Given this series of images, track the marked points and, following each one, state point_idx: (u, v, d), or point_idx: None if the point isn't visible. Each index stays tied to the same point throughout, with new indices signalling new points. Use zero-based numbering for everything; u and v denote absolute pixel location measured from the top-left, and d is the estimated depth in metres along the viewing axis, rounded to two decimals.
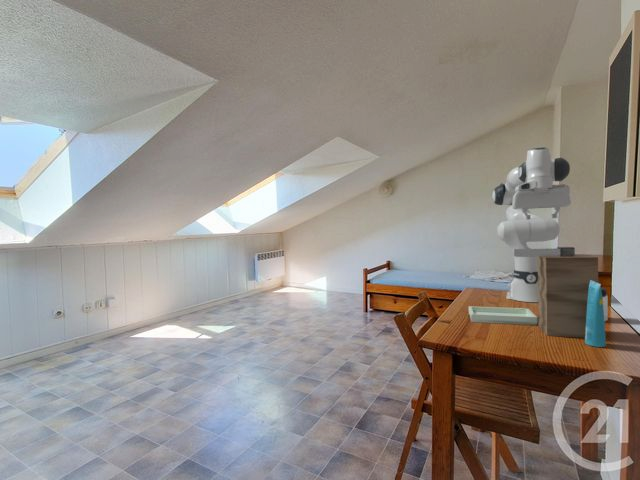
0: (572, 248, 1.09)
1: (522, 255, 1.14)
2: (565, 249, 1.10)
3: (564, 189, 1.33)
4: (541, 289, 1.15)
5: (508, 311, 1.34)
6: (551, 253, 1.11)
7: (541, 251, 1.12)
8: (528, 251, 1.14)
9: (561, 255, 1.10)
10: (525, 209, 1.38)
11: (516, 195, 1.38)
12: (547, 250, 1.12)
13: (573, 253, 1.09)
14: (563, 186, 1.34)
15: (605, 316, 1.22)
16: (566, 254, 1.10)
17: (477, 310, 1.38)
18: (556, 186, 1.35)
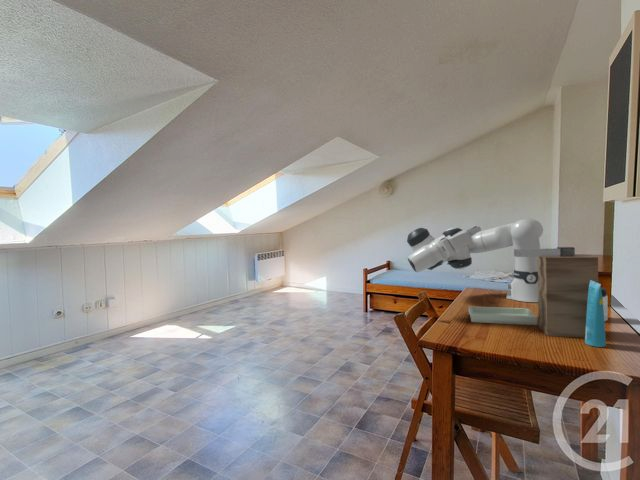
0: (572, 248, 1.09)
1: (522, 255, 1.14)
2: (565, 249, 1.10)
3: None
4: (541, 289, 1.15)
5: (508, 311, 1.34)
6: (551, 253, 1.11)
7: (541, 251, 1.12)
8: (528, 251, 1.14)
9: (561, 255, 1.10)
10: (468, 231, 1.24)
11: (452, 237, 1.23)
12: (547, 250, 1.12)
13: (573, 253, 1.09)
14: None
15: (605, 316, 1.22)
16: (566, 254, 1.10)
17: (477, 310, 1.38)
18: None
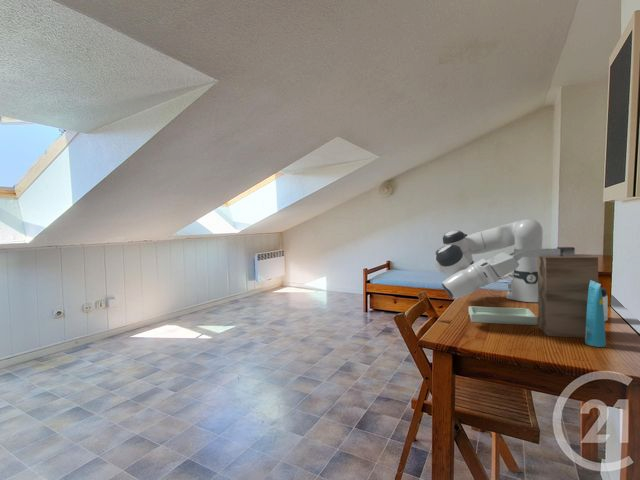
0: (572, 248, 1.09)
1: None
2: (565, 249, 1.10)
3: None
4: (541, 289, 1.15)
5: (508, 311, 1.34)
6: (551, 253, 1.11)
7: (541, 251, 1.12)
8: (528, 251, 1.14)
9: (561, 255, 1.10)
10: (512, 255, 1.14)
11: (496, 263, 1.10)
12: (547, 250, 1.12)
13: (573, 253, 1.09)
14: None
15: (605, 316, 1.22)
16: (566, 254, 1.10)
17: (477, 310, 1.38)
18: None
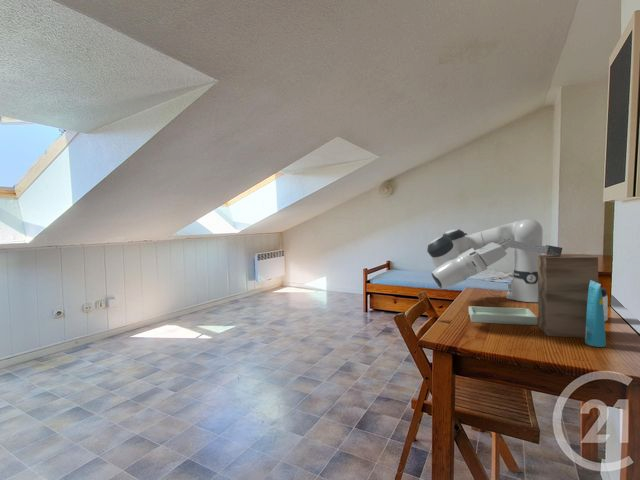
0: (560, 248, 1.10)
1: (510, 246, 1.15)
2: (552, 248, 1.11)
3: None
4: (541, 289, 1.15)
5: (508, 311, 1.34)
6: (538, 249, 1.12)
7: (529, 245, 1.13)
8: (517, 243, 1.14)
9: (547, 253, 1.11)
10: (500, 244, 1.14)
11: (484, 251, 1.11)
12: (535, 245, 1.12)
13: (559, 253, 1.10)
14: None
15: (605, 316, 1.22)
16: (552, 253, 1.11)
17: (477, 310, 1.38)
18: None
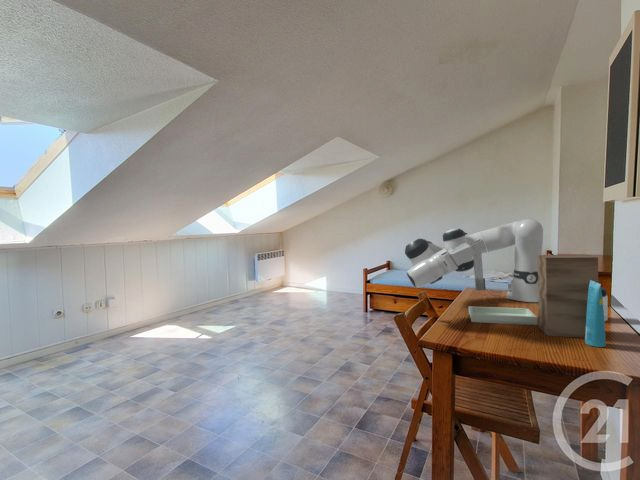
0: (484, 288, 1.19)
1: None
2: (482, 282, 1.19)
3: None
4: (541, 289, 1.15)
5: (508, 311, 1.34)
6: (478, 272, 1.20)
7: (480, 264, 1.19)
8: (479, 253, 1.19)
9: (476, 280, 1.20)
10: (471, 245, 1.18)
11: (455, 252, 1.15)
12: (481, 269, 1.19)
13: (479, 289, 1.20)
14: None
15: (605, 316, 1.22)
16: (478, 284, 1.20)
17: (477, 310, 1.38)
18: None
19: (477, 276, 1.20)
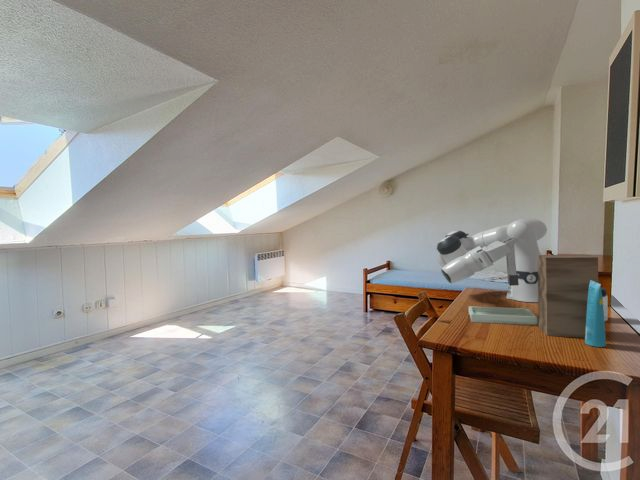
0: (517, 283, 1.26)
1: None
2: (515, 278, 1.27)
3: None
4: (541, 289, 1.15)
5: (508, 311, 1.34)
6: (511, 268, 1.27)
7: (513, 261, 1.27)
8: (512, 251, 1.26)
9: (510, 276, 1.27)
10: None
11: (490, 249, 1.22)
12: (514, 265, 1.26)
13: (512, 284, 1.27)
14: None
15: (605, 316, 1.22)
16: (511, 279, 1.27)
17: (477, 310, 1.38)
18: None
19: (510, 272, 1.27)
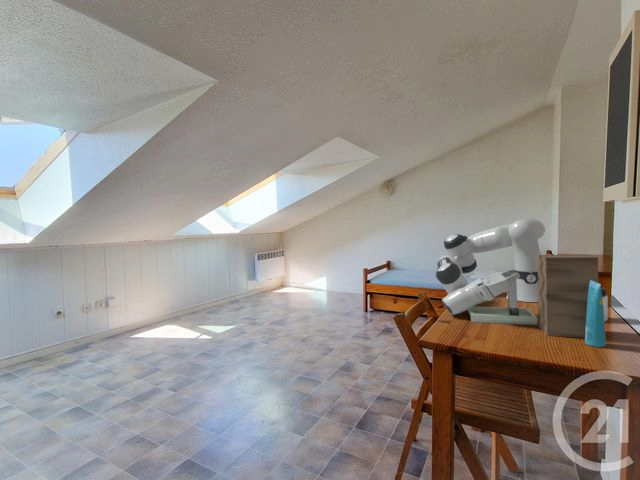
0: None
1: None
2: (516, 311, 1.27)
3: (483, 279, 1.39)
4: (541, 289, 1.15)
5: None
6: (512, 301, 1.27)
7: (514, 294, 1.27)
8: (514, 284, 1.27)
9: (511, 308, 1.28)
10: (507, 277, 1.24)
11: (491, 283, 1.23)
12: (515, 298, 1.27)
13: None
14: None
15: (605, 316, 1.22)
16: (512, 312, 1.28)
17: (477, 310, 1.38)
18: None
19: (511, 305, 1.28)
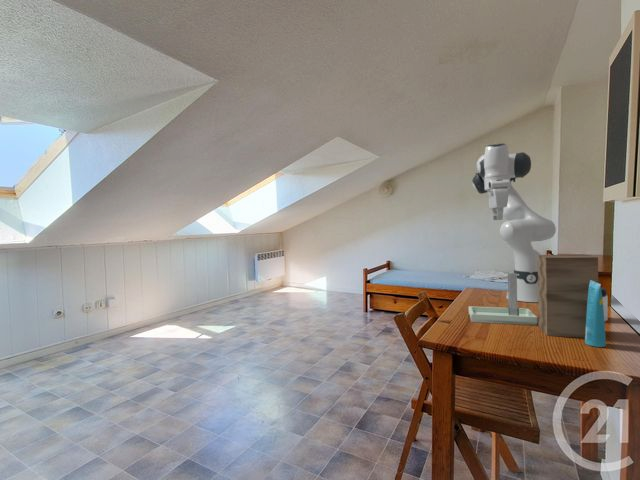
0: None
1: (510, 279, 1.27)
2: (516, 311, 1.27)
3: None
4: (541, 289, 1.15)
5: (508, 311, 1.34)
6: (513, 301, 1.27)
7: (515, 294, 1.27)
8: (515, 284, 1.27)
9: (511, 308, 1.28)
10: None
11: (508, 192, 1.21)
12: (516, 298, 1.27)
13: None
14: None
15: (605, 316, 1.22)
16: (512, 312, 1.28)
17: (477, 310, 1.38)
18: None
19: (511, 305, 1.27)
